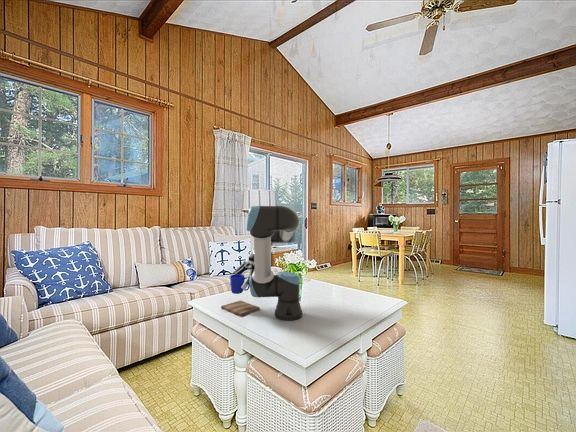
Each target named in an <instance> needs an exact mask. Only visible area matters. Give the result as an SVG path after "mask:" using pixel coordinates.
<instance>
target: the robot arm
mask: <svg viewBox="0 0 576 432" xmlns="http://www.w3.org/2000/svg"><path fill="white" fill-rule="evenodd" d="M246 223H247V224H246V231H248V232H249V234H250V236H251V237H253V250H252V252H251V254H250V255H249V257H248V260H247V261H245V260H243V262H242V263H241V264H240V265H239V266H238V267H237V268H235V270H234V271H233V275H234V274H243V273H245V272H246V271H248V270H249V274H248V276H247V277H248V278H247V279H245V280H244V284H243V285H242V287H241V288H242V289H243V291H245V289H247V288H248V285H249V284H250V287H249V291H250V295H251V296H252V297H254V298H277V303H276V306H275V310H274V316H275V318H276V319H278V320H281V321H296V320H300V319H302V317H303V310H302V306H301V303H300V277H299V275H298V274H296V273H295V272H292V271H279V272H278V273H277V274H275V273H274V272H273V270H272V245H273V244H278V243H279V244H284V243H285V244H292V243H295V242H296V229H298V227H299V223H300V221H299V217H298V215H297V213H296V212H295V211H294V210H292V209H291V208H289V207H287V206H283V205H252V206H250V207H249V208H248V213H247V222H246ZM228 284H229V286H231V281H229V283H228Z"/></svg>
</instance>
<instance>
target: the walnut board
mask: <svg viewBox="0 0 576 432" xmlns="http://www.w3.org/2000/svg"><path fill="white" fill-rule="evenodd" d="M220 309H221V310H224V311H225V312H228V313H230V314H233V315H236V316H238V317H243V316H246V315H249V314H251V313H255V312H257V311H260V306H258V305H254V304H251V303H249V302H246V301H243V300H238V301H234V302H230V303H228V304H223V305H221V306H220Z"/></svg>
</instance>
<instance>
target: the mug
mask: <svg viewBox="0 0 576 432" xmlns="http://www.w3.org/2000/svg"><path fill="white" fill-rule="evenodd" d="M248 277H249V276H247V277H246V276H245V275H244V274H243V273H242V274H234V273H233V274H231V275H229V278H230V279H229V280H230V281H231V285H230V291H231V293H232V294H234V295H239V294H242V293H243V292H246V291H248V290H250V284H249V285H248V286H247V287H246V289H245V290H243V289H242V288H241V287H242V285H243V284H244V282H245V281H246V279H247V278H248ZM230 281H229V282H230Z"/></svg>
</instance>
